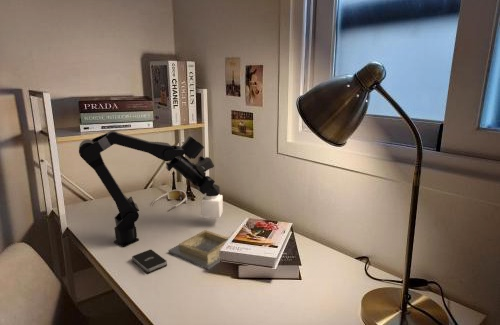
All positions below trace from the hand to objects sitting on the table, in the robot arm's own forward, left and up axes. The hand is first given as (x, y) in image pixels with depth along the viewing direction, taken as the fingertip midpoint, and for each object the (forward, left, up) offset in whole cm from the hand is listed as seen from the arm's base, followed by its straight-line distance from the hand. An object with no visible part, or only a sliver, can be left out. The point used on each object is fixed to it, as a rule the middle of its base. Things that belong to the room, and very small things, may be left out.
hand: (215, 192), depth 137 cm
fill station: (-18, -11, -13) cm, 25 cm away
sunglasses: (+4, +32, -14) cm, 35 cm away
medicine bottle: (-1, +1, -9) cm, 9 cm away
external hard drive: (-35, -2, -14) cm, 38 cm away
